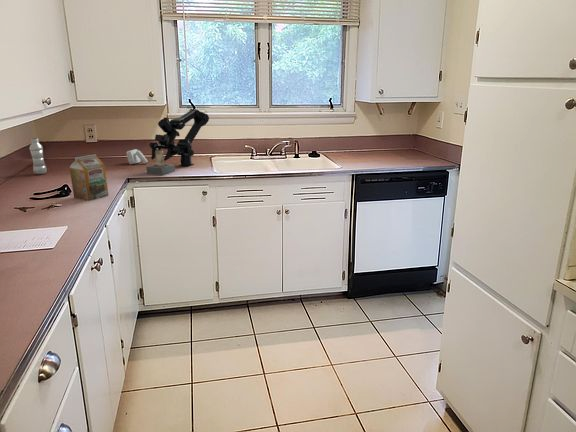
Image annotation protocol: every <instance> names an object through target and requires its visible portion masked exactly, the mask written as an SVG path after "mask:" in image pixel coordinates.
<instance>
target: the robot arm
mask: <svg viewBox="0 0 576 432" xmlns="http://www.w3.org/2000/svg"><path fill="white" fill-rule="evenodd" d="M191 120H193V124H192V126H191V127H190V129H189V130H188V132H187V134H186V136H185V137H184V139H182V138H181V139H178V142H177V143H176V142H175V140H176V138H177V137H180V136H181V135H180V132H179V131H182V130H183V128H185V126H186V124H187V123H188V122H190V121H191ZM209 120H210V117H209V114H208V113H205V112H203V111H201V110H198V109H196V108H195V109H194V108H191V109H190V110H189V111H187V112H186V113H184V114H183V115H181V116H180V117H177V118H176V117H175V118H171V120H169V117H163V118H162V119H160V120H159V121H158V123H157V125H158V127H159V128H160V129H161V131H162V132H163V133H164V134H155V136H154V141H150V142H149V144H148V146H149V148H150V149H151V159H150V160H154V159H156V154H155V151H156V150H167V152H166V154H165V156H164V162H166V161H167V160H169V159H171V158H172V157H174V156H175V155H178V156H180V164H178V165H179V166H182V167H191V166H194V163H192V157H193V156H194V155H195V152H194V150H193V149H192V148H193V147H192V143H193V141H194V140H195V138H196V137H197V135H198V133H199V131H200V130H201V128H203V127H204V126H206V125H207V124H208V122H209ZM178 130H179V131H178ZM155 141H157V142H158V143H157V142H155ZM175 143H176V144H175Z"/></svg>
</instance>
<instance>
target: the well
mask: <svg viewBox="0 0 576 432" xmlns="http://www.w3.org/2000/svg"><path fill="white" fill-rule="evenodd" d="M164 165H165V166H164V167H157V165H156V163H154V164H150V165H147V166H146V174H147V173H148V175H157V176H158V175H159V176H164V175H165V176H166V175H169V174H170V173H175V172H176V169H175V167H176V166H175V164H172V163H164Z"/></svg>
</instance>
